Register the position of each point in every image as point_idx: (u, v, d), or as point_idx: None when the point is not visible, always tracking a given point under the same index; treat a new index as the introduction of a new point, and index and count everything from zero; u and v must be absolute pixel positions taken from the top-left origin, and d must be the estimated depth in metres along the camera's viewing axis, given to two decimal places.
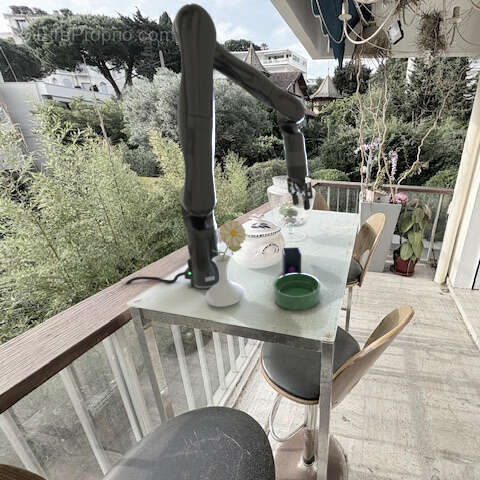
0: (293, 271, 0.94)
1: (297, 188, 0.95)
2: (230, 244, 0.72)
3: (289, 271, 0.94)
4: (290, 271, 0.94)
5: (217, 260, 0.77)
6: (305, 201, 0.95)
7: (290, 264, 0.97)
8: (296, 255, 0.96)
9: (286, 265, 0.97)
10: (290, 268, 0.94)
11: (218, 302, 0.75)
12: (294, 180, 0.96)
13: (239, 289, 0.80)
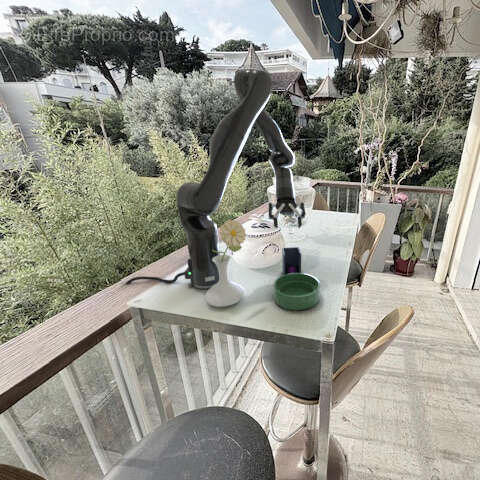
0: (293, 271, 0.94)
1: (291, 207, 1.03)
2: (230, 244, 0.72)
3: (289, 271, 0.94)
4: (290, 271, 0.94)
5: (217, 260, 0.77)
6: (300, 218, 1.03)
7: (290, 264, 0.97)
8: (296, 255, 0.96)
9: (286, 265, 0.97)
10: (290, 268, 0.94)
11: (218, 302, 0.75)
12: (283, 203, 1.04)
13: (239, 289, 0.80)
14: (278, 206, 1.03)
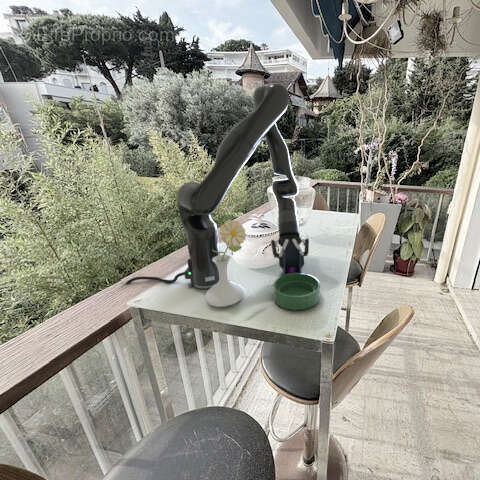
0: (293, 272, 0.94)
1: (295, 243, 0.95)
2: (230, 244, 0.72)
3: (289, 272, 0.94)
4: (290, 272, 0.94)
5: (217, 260, 0.77)
6: (302, 257, 0.94)
7: (290, 264, 0.97)
8: (296, 255, 0.96)
9: (286, 265, 0.97)
10: (290, 269, 0.94)
11: (218, 302, 0.75)
12: (287, 238, 0.96)
13: (239, 289, 0.80)
14: (281, 242, 0.95)
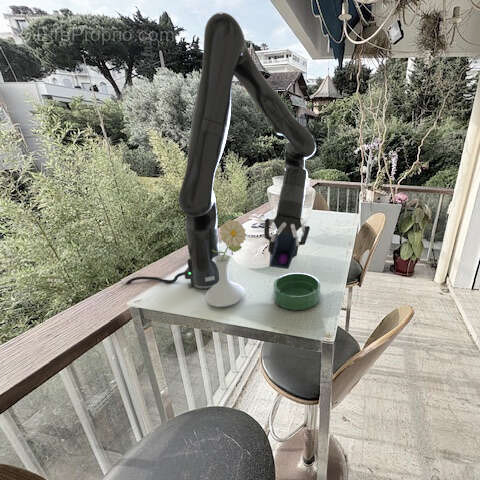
0: (283, 263, 0.82)
1: (292, 230, 0.79)
2: (230, 244, 0.72)
3: (280, 261, 0.81)
4: (281, 262, 0.81)
5: (217, 260, 0.77)
6: (297, 247, 0.81)
7: (281, 247, 0.84)
8: (290, 241, 0.82)
9: None
10: (284, 260, 0.81)
11: (218, 302, 0.75)
12: (285, 220, 0.79)
13: (239, 289, 0.80)
14: (277, 223, 0.78)
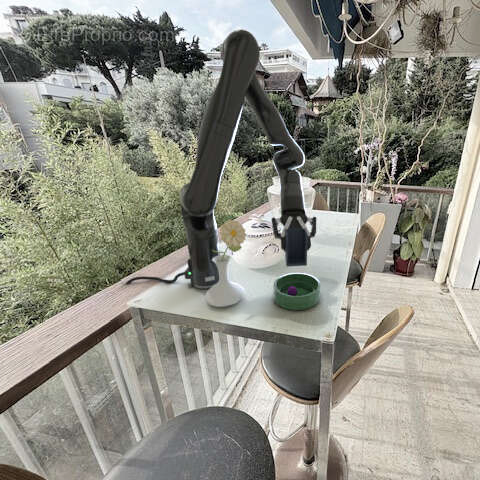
0: (293, 287, 0.82)
1: (300, 222, 0.79)
2: (230, 244, 0.72)
3: (289, 289, 0.81)
4: (290, 288, 0.82)
5: (217, 260, 0.77)
6: (309, 238, 0.79)
7: (294, 248, 0.82)
8: (301, 237, 0.81)
9: (289, 249, 0.81)
10: (289, 287, 0.83)
11: (218, 302, 0.75)
12: (290, 215, 0.80)
13: (239, 289, 0.80)
14: (283, 220, 0.79)
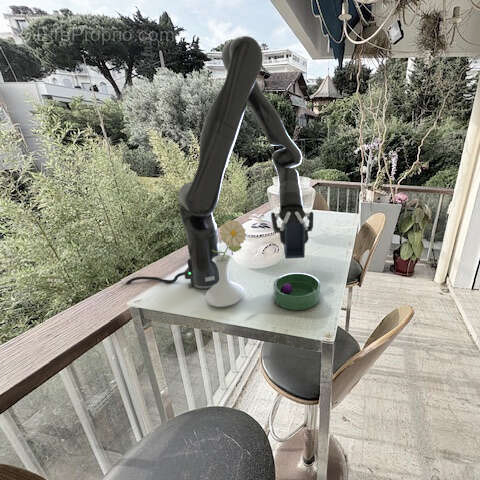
0: None
1: (298, 217, 0.84)
2: (230, 244, 0.72)
3: (282, 289, 0.84)
4: None
5: (217, 260, 0.77)
6: (306, 231, 0.84)
7: (292, 241, 0.87)
8: (299, 231, 0.86)
9: (288, 242, 0.86)
10: None
11: (218, 302, 0.75)
12: (289, 211, 0.85)
13: (239, 289, 0.80)
14: (282, 215, 0.84)
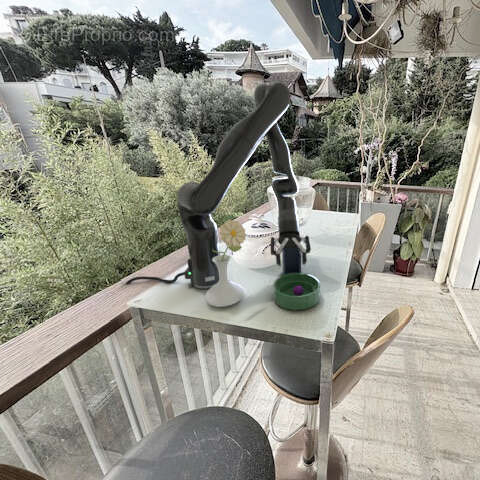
0: (302, 288, 0.83)
1: (295, 242, 0.95)
2: (230, 244, 0.72)
3: (300, 288, 0.82)
4: (301, 288, 0.82)
5: (217, 260, 0.77)
6: (305, 254, 0.95)
7: (290, 264, 0.97)
8: (296, 255, 0.96)
9: (286, 265, 0.97)
10: (298, 286, 0.82)
11: (218, 302, 0.75)
12: (287, 236, 0.96)
13: (239, 289, 0.80)
14: (281, 241, 0.95)
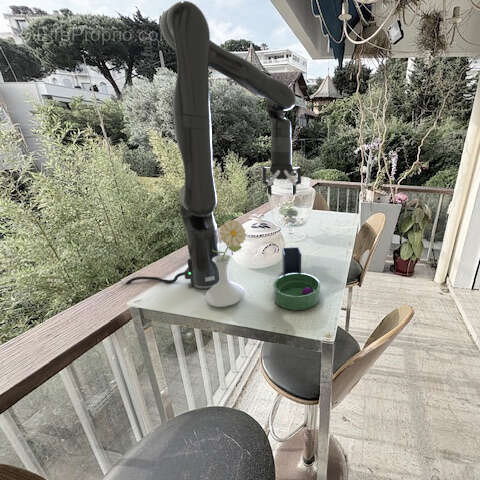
0: None
1: (287, 174, 0.97)
2: (230, 244, 0.72)
3: None
4: None
5: (217, 260, 0.77)
6: (295, 186, 1.00)
7: (290, 264, 0.97)
8: (296, 255, 0.96)
9: (286, 265, 0.97)
10: None
11: (218, 302, 0.75)
12: (278, 167, 0.96)
13: (239, 289, 0.80)
14: (273, 171, 0.96)
